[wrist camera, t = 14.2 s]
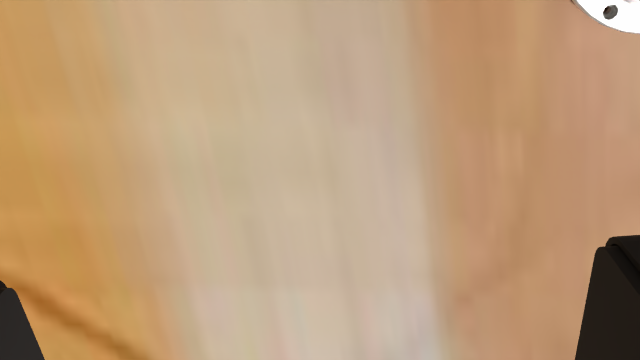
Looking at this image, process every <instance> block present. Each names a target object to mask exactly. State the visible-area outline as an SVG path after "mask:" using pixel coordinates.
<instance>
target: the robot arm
mask: <svg viewBox="0 0 640 360" xmlns="http://www.w3.org/2000/svg"><path fill="white" fill-rule="evenodd" d="M572 1H573V3H574V4H575V5H576V6H577V7H578V8H579V9H580V10H581V11H583V12H584V13H585V14H586V15H588V16H589V17H590V18H591V19H593V20H595V21H596V22H598V23H600V24H601V25H603V26H606V27H609V28H612V29H615V30H617V31H620V32H625V33H633V34H640V0H572ZM607 6H608V8H607V10H606V11H605V12H603V11H604V9H605V8H606V7H607ZM0 360H45V359H44V357H43V354H42V352H41V350H40V347H39V345H38V342H37V340H36V338H35V335H34V333H33V331H32V328H31V326H30V324H29V321H28V319H27V316H26V314H25V312H24V309H23V307H22V305H21V302H20V300H19V298H18V295H17V293H16V292H15V290H13V289H12V288H7V287H6V285H5V284H4V283H3V282H2V281H0ZM575 360H640V235H632V236H617V237H611V238H609V240H608V241H607V243H606V246H605V247H599V248H598V249H597V250H596V253H595V257H594V262H593V267H592V272H591V278H590V283H589V288H588V293H587V299H586V304H585V309H584V314H583V320H582V325H581V330H580V336H579V341H578V346H577V351H576V357H575Z"/></svg>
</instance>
